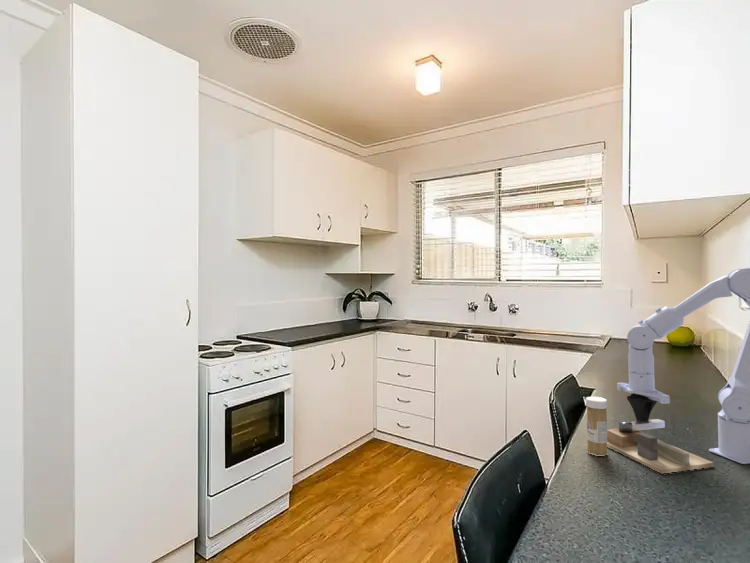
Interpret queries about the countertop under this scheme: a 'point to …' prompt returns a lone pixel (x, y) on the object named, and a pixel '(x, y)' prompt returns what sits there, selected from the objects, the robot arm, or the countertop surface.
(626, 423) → the bar
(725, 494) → the countertop surface
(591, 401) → the sprinkles bottle
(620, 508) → the countertop surface
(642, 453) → the wooden base plank
